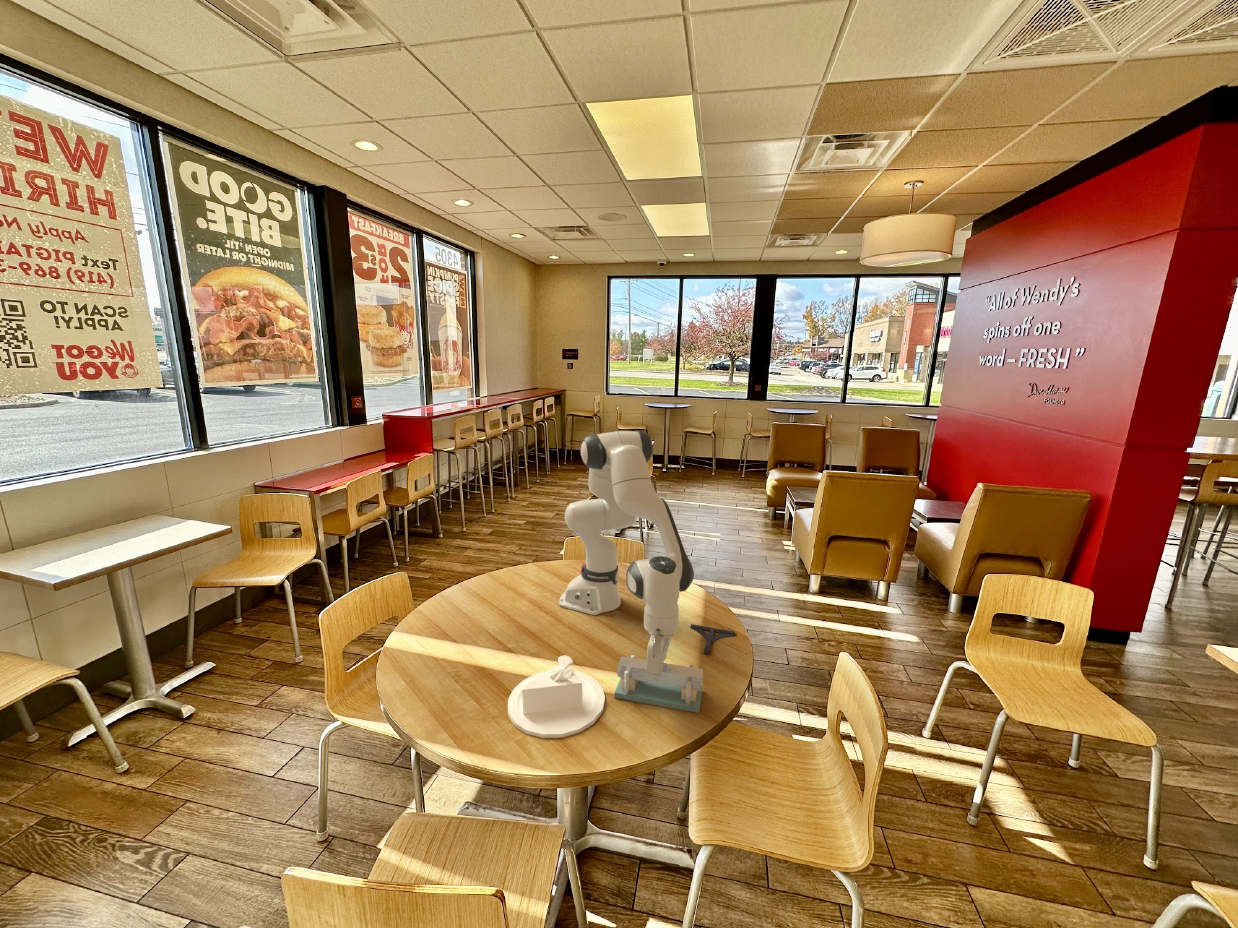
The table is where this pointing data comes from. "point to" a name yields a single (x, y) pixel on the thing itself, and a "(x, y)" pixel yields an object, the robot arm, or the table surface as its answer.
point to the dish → (556, 702)
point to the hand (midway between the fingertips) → (659, 668)
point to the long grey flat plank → (662, 673)
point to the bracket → (711, 635)
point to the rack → (659, 693)
